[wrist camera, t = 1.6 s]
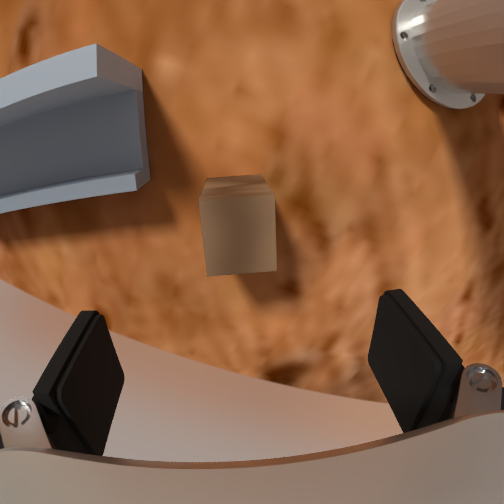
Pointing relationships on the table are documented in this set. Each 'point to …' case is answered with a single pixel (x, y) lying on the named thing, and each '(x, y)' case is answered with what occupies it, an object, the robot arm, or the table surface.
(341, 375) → the table surface
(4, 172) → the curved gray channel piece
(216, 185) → the brown block
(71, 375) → the robot arm
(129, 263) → the table surface
